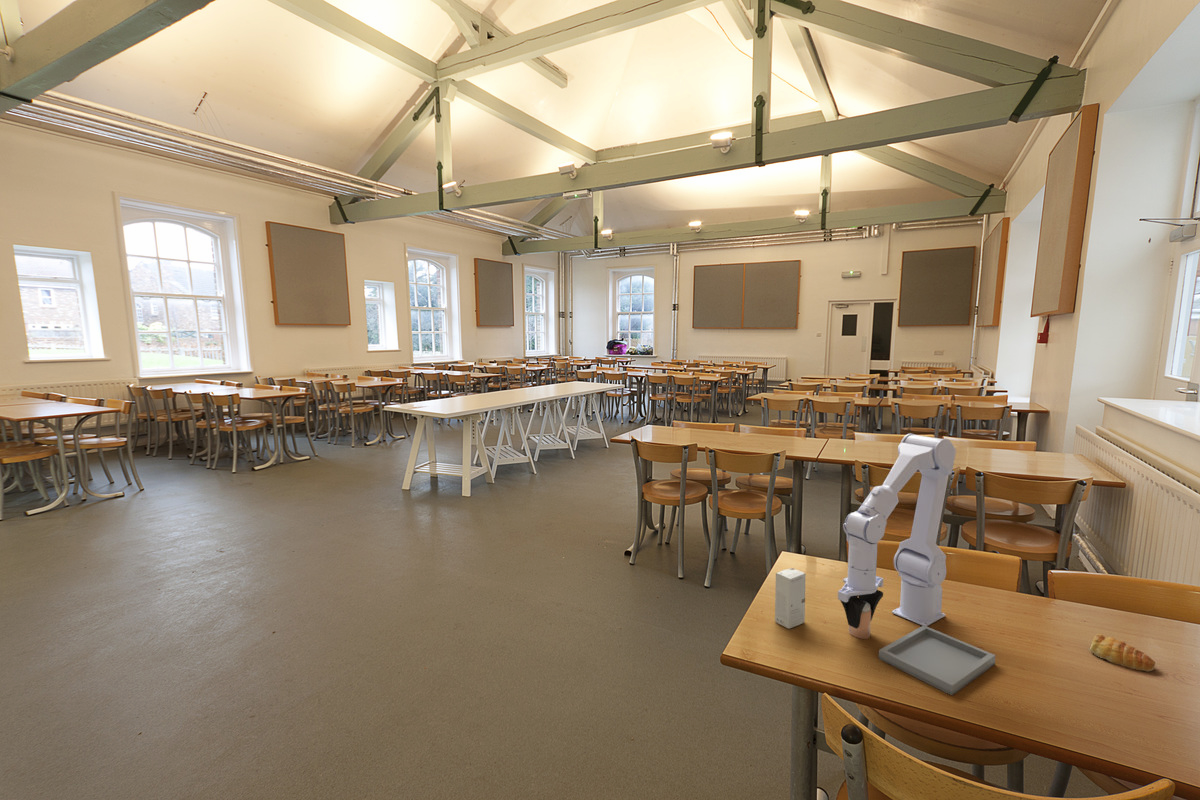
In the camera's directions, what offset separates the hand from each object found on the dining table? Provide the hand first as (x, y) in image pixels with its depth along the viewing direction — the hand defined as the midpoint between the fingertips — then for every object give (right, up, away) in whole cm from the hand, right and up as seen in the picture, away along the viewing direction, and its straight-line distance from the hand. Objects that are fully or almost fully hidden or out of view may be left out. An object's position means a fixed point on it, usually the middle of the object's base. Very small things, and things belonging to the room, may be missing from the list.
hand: (859, 623), depth 120 cm
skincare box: (-14, -2, +6) cm, 15 cm away
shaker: (0, -2, 0) cm, 2 cm away
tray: (+11, -3, -11) cm, 15 cm away
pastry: (+49, -3, -10) cm, 50 cm away
